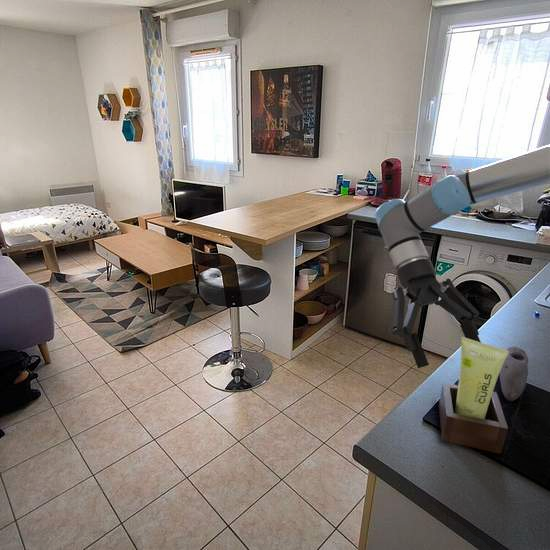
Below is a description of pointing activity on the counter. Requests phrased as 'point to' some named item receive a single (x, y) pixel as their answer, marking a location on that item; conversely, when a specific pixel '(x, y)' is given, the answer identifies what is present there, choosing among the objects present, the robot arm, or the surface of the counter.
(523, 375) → the perforated stone tool
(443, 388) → the frame
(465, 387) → the tube
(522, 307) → the counter surface
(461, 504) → the counter surface
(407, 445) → the counter surface
